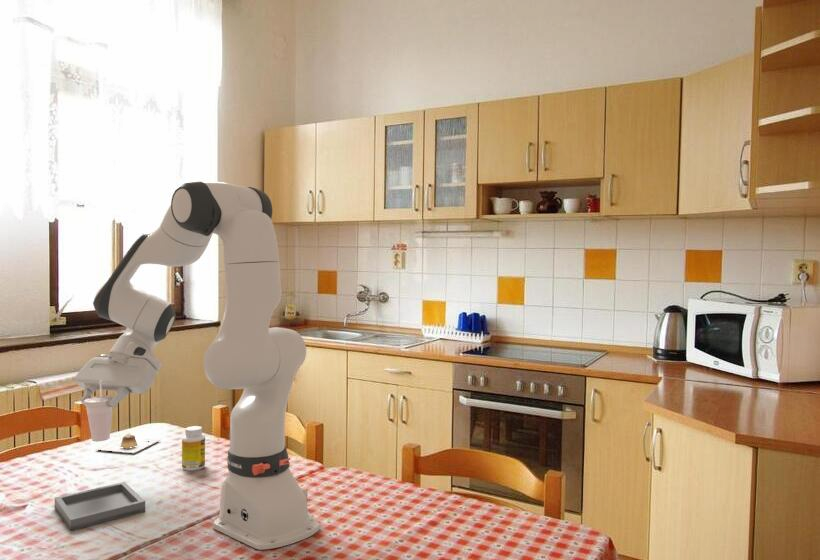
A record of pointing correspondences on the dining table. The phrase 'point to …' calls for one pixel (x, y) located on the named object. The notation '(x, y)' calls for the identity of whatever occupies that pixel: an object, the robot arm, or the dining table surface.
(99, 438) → the smoothie
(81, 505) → the tray
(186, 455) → the supplement bottle
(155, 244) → the robot arm
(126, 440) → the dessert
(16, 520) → the dining table surface
